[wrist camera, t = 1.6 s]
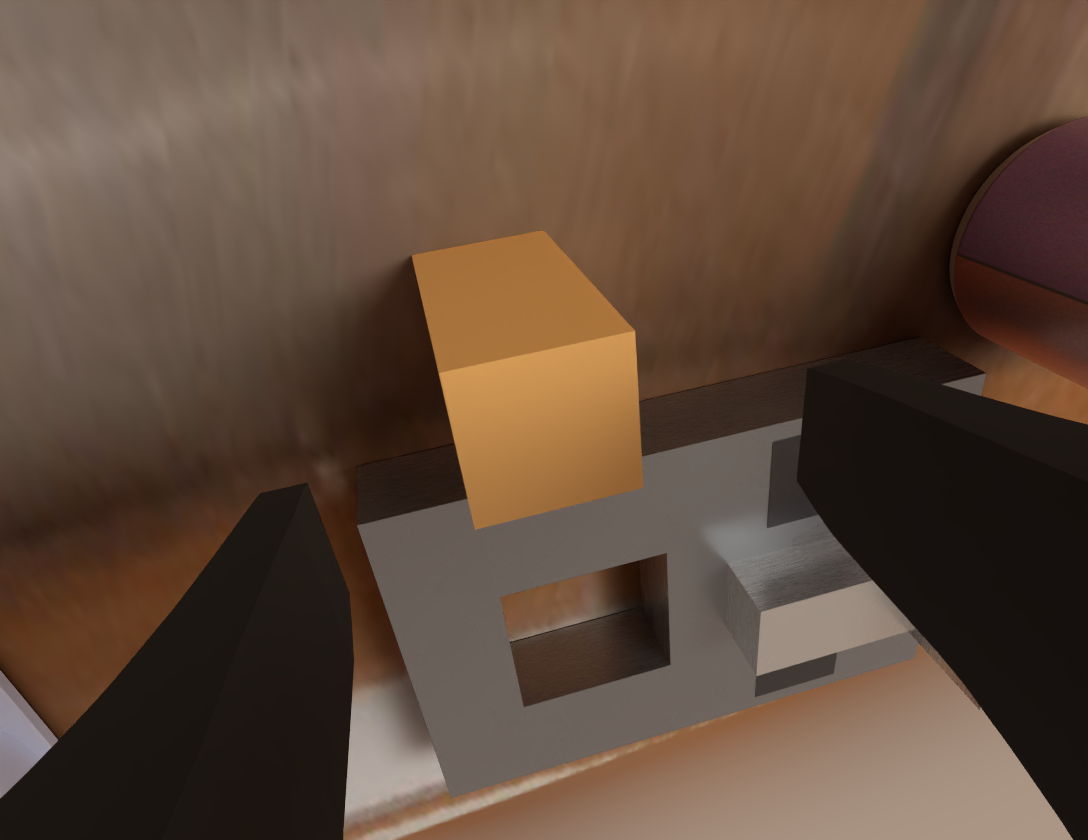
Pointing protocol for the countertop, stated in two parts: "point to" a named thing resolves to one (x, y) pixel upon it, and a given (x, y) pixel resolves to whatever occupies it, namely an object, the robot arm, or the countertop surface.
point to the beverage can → (1030, 253)
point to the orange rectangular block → (531, 377)
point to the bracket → (810, 608)
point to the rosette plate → (600, 543)
